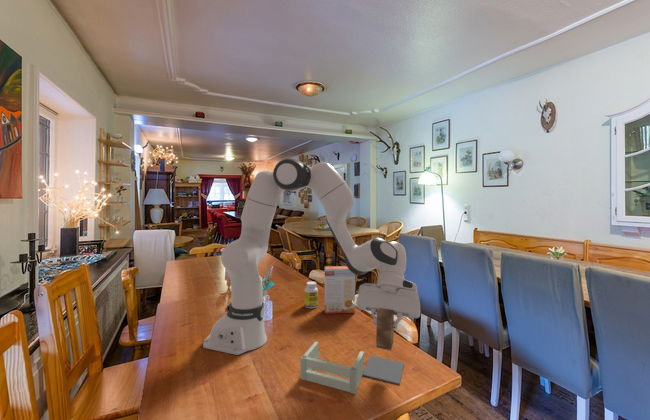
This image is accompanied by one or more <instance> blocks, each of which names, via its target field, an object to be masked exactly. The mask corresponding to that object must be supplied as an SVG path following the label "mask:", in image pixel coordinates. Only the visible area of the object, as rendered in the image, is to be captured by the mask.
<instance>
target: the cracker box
mask: <svg viewBox="0 0 650 420" xmlns="http://www.w3.org/2000/svg"><path fill="white" fill-rule="evenodd" d="M352 300H353V301H355V302H356V274H354V273H353V272H351V271H350V270H349V269H348V267H347V265H345V266H344V265H343V266H342V265H341V266H338V265H337V266H333V265H332V266H329V265H328V266H327V265H326V266H325V265H324V314H356V303H355V304H353V303H352Z"/></svg>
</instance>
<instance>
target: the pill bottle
mask: <svg viewBox="0 0 650 420" xmlns="http://www.w3.org/2000/svg"><path fill="white" fill-rule="evenodd" d="M304 306H305V308H307V309H314V308H317V307H318V306H319V290H318V287H317V282H316V281H311V280H310V281H307V282H306V287H305V289H304Z"/></svg>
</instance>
